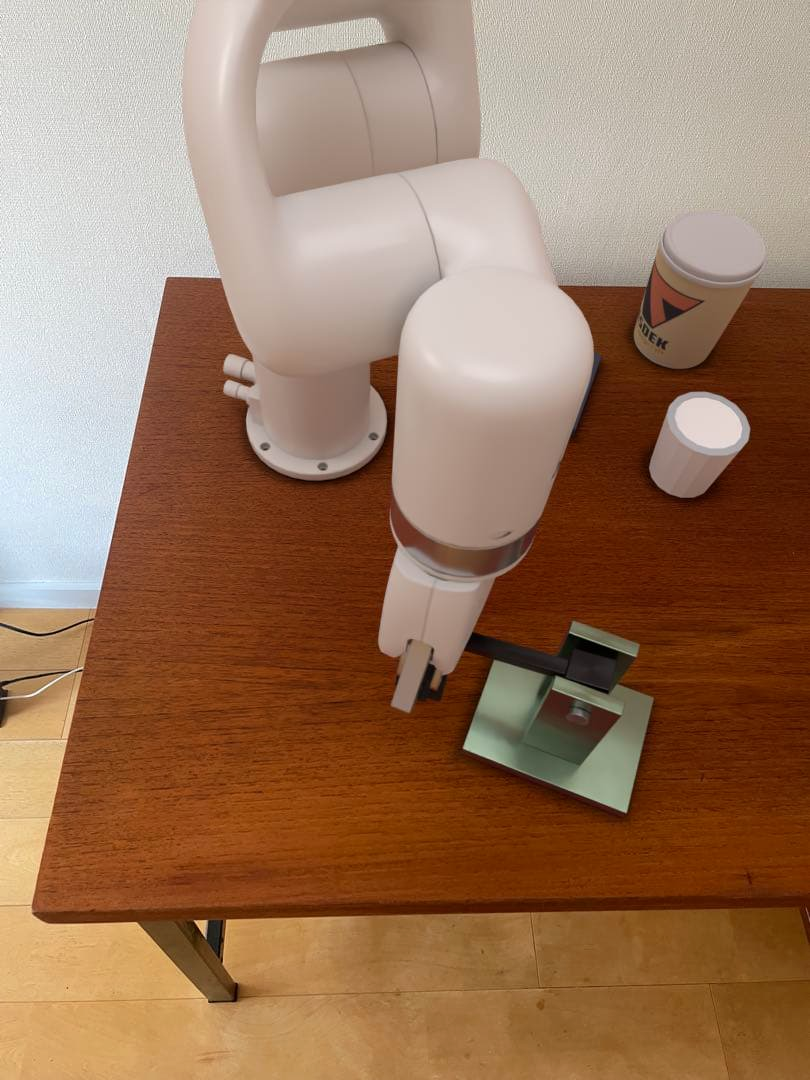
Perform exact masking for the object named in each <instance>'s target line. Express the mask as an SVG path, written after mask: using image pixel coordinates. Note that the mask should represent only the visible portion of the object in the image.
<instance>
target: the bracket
mask: <svg viewBox="0 0 810 1080" xmlns="http://www.w3.org/2000/svg"><path fill="white" fill-rule="evenodd" d="M640 646H641V644H640V643H638V642H635V641H633V640H630V639H626V638H624V637H622V636H618V635H616V634H613V633H611V632H608V631H604V630H602V629H598V628H596V627H594V626H591V625H587V624H585V623H582V622H580V621H577V620H574V619H573V620H571V622H570V624H569V626H568V627H567V630H566V632H565V634H564V636H563V637H562V640H561V641H560V643H559V645H558V647H557V649H556V651H555V653H554V654H553V655H554V656H558V657H561V658H565V659H568V660H570V657H571V654H572V650H573V648H576V649H579V650H583V651H586V652H590V653H593V654H597V655H600V656H604V657H607V658H611V659H614V660H617V665H616V670H615V674H614V678H613V681H612V685H611V689H610V693H609V695H608V694H605V693H602V692H600V691H597V690H594V689H591V688H589V687H586V686H583V685H581V684H578V683H575V682H573V681H570V680H567V679H565V678H562V677H559V676H555V677H554V678H553V677H550V676H547V675H543V674H540V673H537V672H533V671H530V670H527V669H523V668H520V667H517V666H513V665H510V664H507V663H503V662H500V661H496V660H493V661H492V663H491V666H490V669H489V672H488V674H487V678H486V679H485V682H484V685H483V689H482V692H481V695H480V697H479V700H478V703H477V706H476V708H475V711H474V714H473V717H472V719H471V722H470V725H469V728H468V731H467V733H466V737H465V739H464V742H463V745H462V748H461V750H460V754H461V755H462V756H463V755H464V756H466V757H468V758H471V759H474V760H477V761H479V762H481V763H483V764H486V765H489V766H491V767H494V768H496V769H498V770H502V771H504V772H506V773H509V774H511V775H514V776H517V777H519V778H521V779H525V780H527V781H529V782H532V783H534V784H537V785H539V786H542V787H544V788H547V789H548V790H552V791H555V792H557V793H560V794H562V795H565V796H567V797H570V798H573V799H575V800H577V801H580V802H582V803H585V804H587V805H590V806H592V807H595V808H598V809H600V810H603V811H606V812H607V813H610V814H613V815H615V816H618V817H620V818H623V817H625V815H627V814H628V811H629V807H630V802H631V798H632V794H633V789H634V786H635V780H636V777H637V774H638V773H637V772H638V768H639V764H640V759H641V755H642V752H643V751H642V750H643V748H644V743H645V738H646V734H647V729H648V726H649V722H650V721H649V720H650V717H651V713H652V708H653V704H654V700H655V697H653V696H651V695H649V694H645V693H643V692H640V691H637V690H635V689H632V688H629V687H626V686H624V685H621V684H618V683H619V682H620V681H621V679H622V678H623V677H624V676H625V674H626V673H627V672H628V670H629V668H630V667H631V666H632V664H633V663H634V662H635V660H636V659H637V658H638V655H639V650H640Z"/></svg>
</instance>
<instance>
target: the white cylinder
mask: <svg viewBox="0 0 810 1080" xmlns="http://www.w3.org/2000/svg"><path fill="white" fill-rule="evenodd" d="M750 433H751V427H750V424H749V421H748V418H747V416H746V415H745V413H744V412H743V411H742V410H741V409H740V408H739V406H737V404H736V403H734V402H732V401H730V400H729V399H727V398H726V397H724V396H722V395H720V394H715V393H712V392H708V391H690V392H687V393H684V394H682V395H681V394H680V395H679V396H677V397H676V398H675V399H674V400H673V401H672V402H671V403H670V404H669V406H668V408H667V411H666V414H665V417H664V420H663V422H662V427H661V429H660V430H659V434H658V438H657V439H656V440H657V441H656V443H655V446H654V449H653V452H652V455H651V457H650V461H649V466H648V469H649V474H650V477H651V480H652V481H654V483H655V484H656V486H657V487H658V488H659V489H661V490H662V491H664V492H665V493H666V494H669V495H671V496H675V497H678V498H681V499H685V498H690V499H692V498H696V497H699V496H701V495H703V494H705V493H706V491H707V490H708V489H709V488H710V487H711V486H712V485H713V483H714V482H715V481H716V480H717V479H718V477H719V476H720V475H721V473H723V471H724V470H725V469H726V468H727V467H728V466H729V465H730V463H731V462H732V461H733V459H734V458H735V457H736V456H737V455H738V454H739V453H740V451H741V450H742V449H743V448H744V447H745V445H746V444H747V443H748V442H749V439H750Z"/></svg>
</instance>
